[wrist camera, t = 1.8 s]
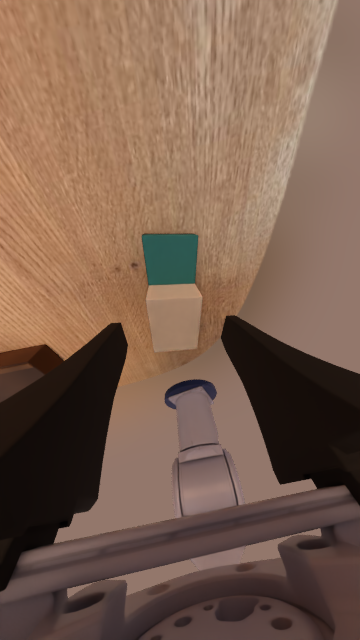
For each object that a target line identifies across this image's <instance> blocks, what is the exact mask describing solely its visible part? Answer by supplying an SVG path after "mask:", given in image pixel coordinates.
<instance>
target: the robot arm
mask: <svg viewBox="0 0 360 640" xmlns="http://www.w3.org/2000/svg"><path fill="white" fill-rule="evenodd" d="M221 339H222V342H223V345H224V348H225V350H226V352H227V354H228V356H229V358H230V360H231V362H232V363H233V365H234V367H235V369H236V371H237V373H238V375H239V377H240V379H241V381H242V383H243V385H244V388H245V390H246V392H247V395H248V397H249V400H250V402H251V405H252V407H253V410H254V412H255V415H256V418H257V421H258V424H259V427H260V430H261V433H262V435H263V438H264V442H265V445H266V448H267V451H268V454H269V457H270V461H271V464H272V468H273V471H274V473H275V475H276V477H277V479H278V482H279V483H280V484H286V483H291V482H296V481H301V480H306V479H312V480H313V482H314V484H315V485H316V487H317V489H316V490H311V491H306V492H301V493H296V494H291V495H286V496H282V497H277V498H272V499H267V500H262V501H258V502H253V503H248V504H245V502H244V496H243V492H242V487H241V484H240V480H239V477H238V474H237V471H236V467H235V464H234V462H233V459H232V457H231V455H230V453H229V452H228V451H227V450H226V449H222V447H221V444H219V441H218V432H217V428H216V424H215V421H214V417H213V413H212V410H211V406H210V405H211V404H213V403H214V402H213V400H212V399H211V398H210V396H209V395H208V394H207V392H206V391H205V390H204V388H203V387H202V386H199V387H196V388H193V389H190V390H188V391H185V392H182V393H179V394H176V395H173V396H170V397H169V400H170V401H171V402H172V403H173V404H175V405H176V410H177V422H178V436H179V448H180V452H179V453H178V458H176V459H175V461H174V463H173V466H172V494H173V506H174V513H175V519H171V520H166V521H161V522H156V523H151V524H146V525H142V526H137V527H132V528H127V529H122V530H118V531H113V532H108V533H103V534H98V535H93V536H89V537H84V538H79V539H74V540H70V541H65V542H60V543H55V544H53V543H54V540H55V537H56V535H57V532H58V529H59V528H64V527H69V526H70V524H71V521H72V518H73V515H74V514H76V513H81V512H86V511H89V510H90V509H91V508H92V506H93V505H94V504H95V502H96V501H97V499H98V493H99V485H100V477H101V470H102V463H103V456H104V450H105V443H106V437H107V432H108V426H109V420H110V415H111V410H112V405H113V400H114V396H115V393H116V389H117V386H118V383H119V379H120V376H121V373H122V370H123V366H124V363H125V359H126V354H127V348H128V344H127V340H126V337H125V334H124V331H123V328H122V325H121V323H111V324H110V325H108V326H107V327H106V328H105V329H103V330H102V331H101V332H100V333H99V334H98V335H96V336H95V337H94V338H93V339H92V340H91V341H89V342H88V343H87V344H86V345H85V346H83V347H82V348H81V349H80V350H78V351H77V352H76V353H74V354H73V355H72V356H71V357H69V358H68V359H67V360H65V361H64V362H63V363H61V364H60V365H58V366H57V367H56V368H54V369H53V370H51V371H50V372H48V373H47V374H45V375H44V376H42V377H41V378H39V379H38V380H36V381H35V382H33V383H32V384H30V385H28V386H27V387H25V388H23V389H22V390H20V391H19V392H17V393H15V394H14V395H12V396H10V397H9V398H7V399H6V400H4V401H2V402H0V640H360V374H358V373H355V372H352V371H349V370H347V369H344V368H341V367H338V366H336V365H333V364H331V363H328V362H326V361H323V360H321V359H318V358H316V357H313V356H311V355H309V354H306V353H304V352H302V351H300V350H297V349H295V348H293V347H291V346H289V345H287V344H285V343H283V342H281V341H279V340H277V339H275V338H273V337H271V336H270V335H267V334H266V333H264V332H262V331H261V330H259V329H257V328H256V327H254V326H252V325H251V324H249V323H247V322H246V321H244V320H242V319H240V318H239V317H237V316H235V315H233V316H226V319H225V323H224V327H223V331H222V335H221ZM318 528H321V533H322V536H321V537H320V536H312V535H296V536H292V537H290V538H288V539H287V540H285V541H283V542H281V543H280V544H278V551H279V553H280V556H281V558H277V559H269V560H262V561H254V562H247V563H240V562H241V559H242V556H243V553H244V550H245V547H246V546H247V545H251V544H256V543H259V542H264V541H268V540H272V539H277V538H281V537H285V536H289V535H293V534H297V533H301V532H306V531H310V530H314V529H318ZM188 559H190V560H191V561H192V562H193V564H194V565H195V566H196V567H197V569H198V570H199V571H197V572H193V573H190V574H187V575H184V576H180V577H177V578H174V579H171V580H169V581H166V582H163V583H160V584H158V585H155V586H152V587H150V588H147V589H144V590H142V591H138V592H136V593H133V594H130V595H128V596H126V591H127V583H126V581H125V580H105V579H109V578H113V577H118V576H122V575H126V574H130V573H134V572H138V571H143V570H147V569H151V568H155V567H159V566H164V565H168V564H172V563H176V562H180V561H184V560H188ZM101 580H103V581H101ZM97 581H99V582H97ZM92 582H96V583H93V584H91V585H89V586H87V587H86V588H84V589H82V590H81V591H79V592H77V593H76V594H74V595H73V596H71V597H70V598H68V597H67V588H72V587H76V586H79V585H84V584H88V583H92Z"/></svg>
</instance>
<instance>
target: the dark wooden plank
mask: <svg viewBox="0 0 360 640" xmlns="http://www.w3.org/2000/svg"><path fill="white" fill-rule="evenodd" d="M63 362H64V361H63V360H62V359H61V358H60V357H59V356H57V355H56V354H55V353H54V352H53V351H52V350H51V349H50V348H49V347H48V346H46V345H45V344H44V345H39V346H34V347H29V348H24V349H19V350H14V351H8V352H3V353H0V402H2V401H4V400H6V399H7V398H9V397H10V396H12V395H14V394H15V393H17V392H19V391H20V390H22V389H23V388H25V387H27V386H28V385H30V384H32V383H33V382H35V381H36V380H38V379H39V378H41V377H42V376H44V375H45V374H47V373H48V372H50V371H51V370H53V369H54V368H56V367H57V366H58V365H60V364H61V363H63Z"/></svg>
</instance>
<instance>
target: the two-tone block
mask: <svg viewBox="0 0 360 640" xmlns="http://www.w3.org/2000/svg"><path fill="white" fill-rule="evenodd" d="M142 242H143V249H144V256H145V263H146V270H147V277H148V285H149V287H148V291H147V296H146V306H147V312H148V318H149V324H150V330H151V336H152V342H153V348H154V352H164V351H176V350H187V349H197V344H198V335H199V326H200V317H201V308H202V299H203V297H202V295H201V293H200V292H199V290H198V288H197V287H196V285H195V276H196V262H197V248H198V235H196V234H142Z"/></svg>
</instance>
